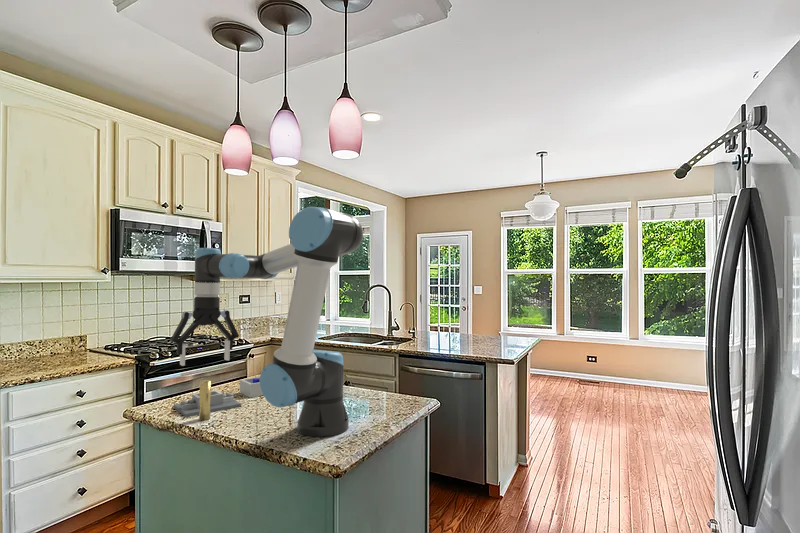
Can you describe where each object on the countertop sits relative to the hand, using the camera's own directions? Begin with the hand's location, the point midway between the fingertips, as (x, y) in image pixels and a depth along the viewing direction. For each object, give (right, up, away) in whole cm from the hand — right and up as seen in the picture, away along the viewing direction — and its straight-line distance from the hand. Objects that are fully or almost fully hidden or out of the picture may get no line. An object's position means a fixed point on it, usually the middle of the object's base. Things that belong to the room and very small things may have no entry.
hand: (205, 362), depth 137 cm
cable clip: (+10, -20, +34) cm, 40 cm away
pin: (0, -18, -1) cm, 18 cm away
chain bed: (-5, -18, +12) cm, 23 cm away
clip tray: (+9, -19, +34) cm, 40 cm away
